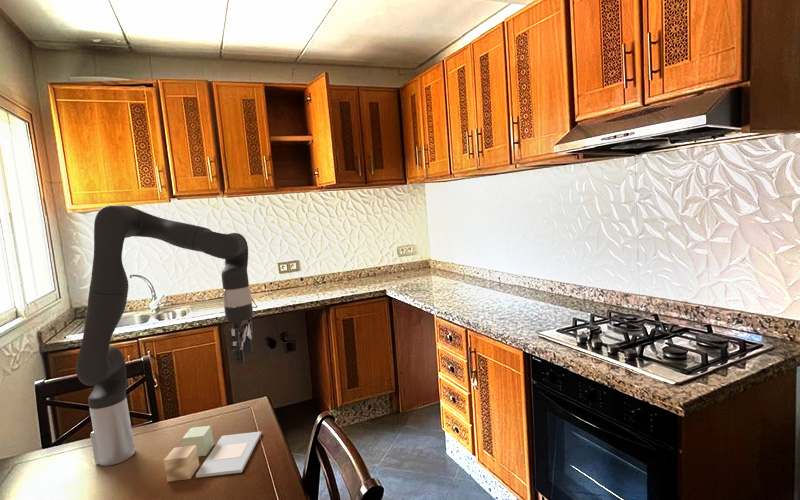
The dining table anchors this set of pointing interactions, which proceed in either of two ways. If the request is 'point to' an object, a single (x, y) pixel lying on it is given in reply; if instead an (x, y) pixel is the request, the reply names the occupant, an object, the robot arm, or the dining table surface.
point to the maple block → (181, 463)
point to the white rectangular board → (229, 454)
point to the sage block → (199, 439)
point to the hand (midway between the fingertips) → (244, 357)
